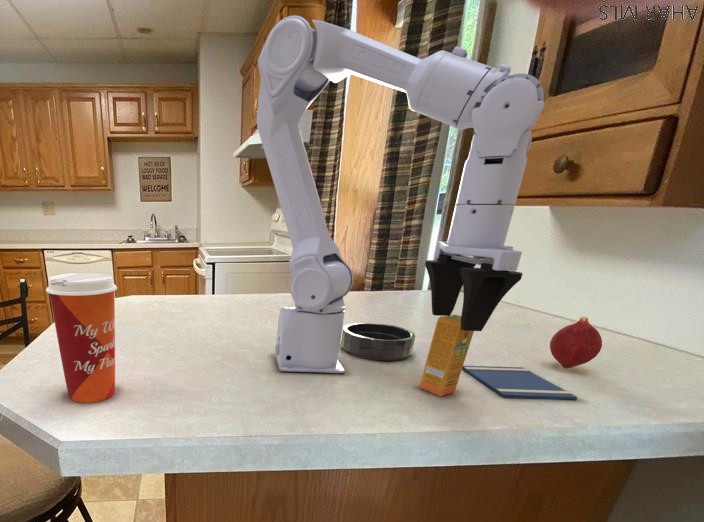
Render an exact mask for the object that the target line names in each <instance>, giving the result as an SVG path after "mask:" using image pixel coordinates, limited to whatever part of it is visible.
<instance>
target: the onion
mask: <svg viewBox="0 0 704 522" xmlns="http://www.w3.org/2000/svg"><path fill="white" fill-rule="evenodd" d="M602 347H603V340H602V336H601V334H600V331H598V329H596V328H595V326H593V325H592V324H591V322H590V321H589V318H588V317H587V316H581V317H580V318H579V320H578V321H576V322H574V323H571V324H569V325H566V326H564V327H562V328H560V329H559V330H558V331H556V332H555V333H554V335H553V336H552V337H551V339H550V341H549V350H550V354H551V356H552V357H553V359H555V361H557V362H558V363H559V364H560V365H561V367H563V368H564V369H571V368H574V367H579V366H582V365H584V364H587V363H589V362H591V361H592V360H593V359H595V358H596V357H598V355H599V354H600V352H601V350H602Z"/></svg>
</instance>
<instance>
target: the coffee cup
mask: <svg viewBox="0 0 704 522" xmlns="http://www.w3.org/2000/svg"><path fill="white" fill-rule="evenodd" d="M117 289H118V286H117V285H116V284H115V282H114V278H113V277H112V275H110V274H106V273H101V272H100V273H99V272H74V273H73V272H72V273H63V274H56V275H52V276H49V278H48V286H47V287H46V289H45V292H46V293H48V294H49V300H50V305H51V311H52V317H53V322H54V326H55V332H56V338H57V342H58V343H57V344H58V350H59V355H60V360H61V365H62V370H63V371H62V372H63V375H64V376H63V377H64V380H65V385H66V386H65V387H66V391H67V395H68V397H69V399H70V400H72V401H73V402H77V403H83V404H89V403H90V404H91V403H98V402H103V401H105V400H109V399H111V398H112V397H113V396H114V395H115V391H116V317H115V316H116V315H115V314H116V310H115V309H116V307H115V306H116V305H115V302H116V301H115V300H116V299H115V292H116V291H117Z"/></svg>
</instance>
